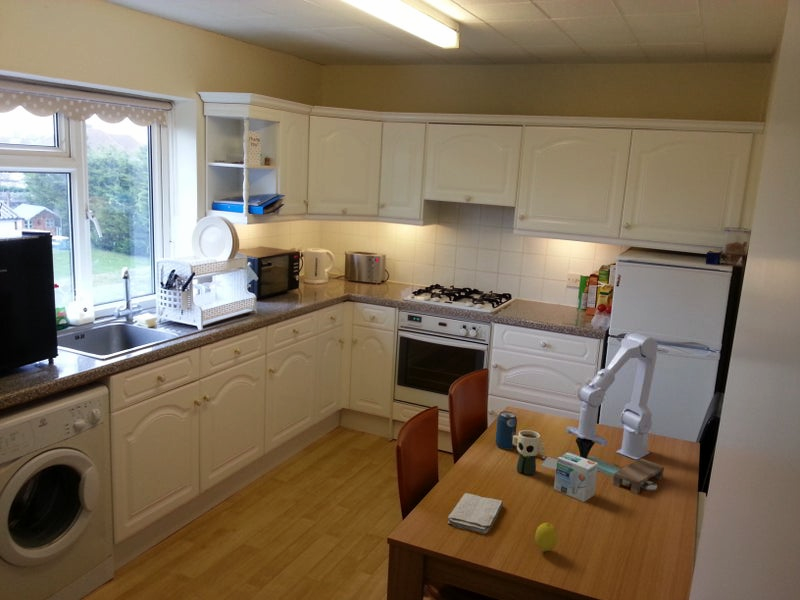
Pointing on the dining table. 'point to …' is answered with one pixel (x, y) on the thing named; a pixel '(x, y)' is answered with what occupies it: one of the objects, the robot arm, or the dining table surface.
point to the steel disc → (649, 485)
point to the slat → (606, 467)
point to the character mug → (528, 450)
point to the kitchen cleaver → (547, 461)
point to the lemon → (546, 537)
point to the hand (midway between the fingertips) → (583, 458)
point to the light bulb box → (575, 476)
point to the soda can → (506, 429)
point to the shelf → (638, 474)
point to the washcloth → (475, 513)
